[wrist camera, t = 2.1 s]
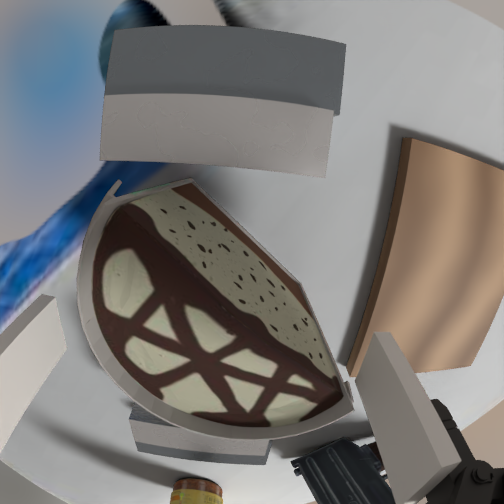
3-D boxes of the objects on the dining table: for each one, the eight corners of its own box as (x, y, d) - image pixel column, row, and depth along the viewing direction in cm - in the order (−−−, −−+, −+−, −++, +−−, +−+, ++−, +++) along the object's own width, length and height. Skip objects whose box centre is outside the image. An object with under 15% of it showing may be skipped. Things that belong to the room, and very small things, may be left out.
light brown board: (346, 367, 22) (349, 377, 21) (402, 137, 16) (412, 138, 15) (464, 358, 23) (470, 365, 22) (524, 181, 17) (533, 184, 16)
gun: (499, 500, 13) (361, 596, 10) (411, 410, 29) (292, 472, 26) (510, 489, 12) (364, 595, 9) (413, 396, 28) (288, 462, 25)
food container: (110, 234, 18) (17, 317, 9) (172, 159, 17) (90, 189, 7) (248, 351, 21) (251, 473, 12) (315, 297, 20) (361, 415, 11)
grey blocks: (157, 421, 24) (142, 483, 18) (152, 60, 14) (102, 23, 8) (257, 432, 25) (260, 496, 18) (315, 72, 15) (357, 37, 8)
